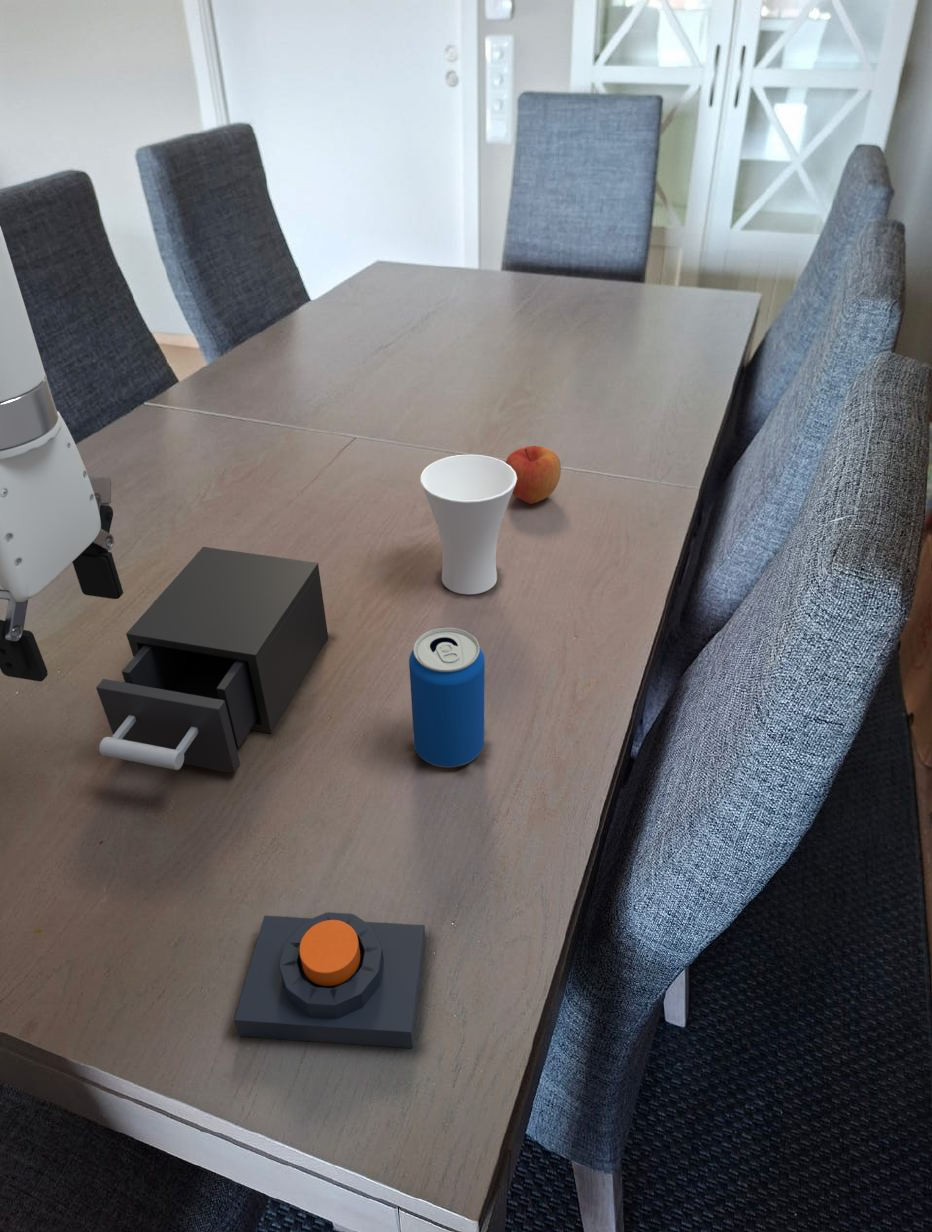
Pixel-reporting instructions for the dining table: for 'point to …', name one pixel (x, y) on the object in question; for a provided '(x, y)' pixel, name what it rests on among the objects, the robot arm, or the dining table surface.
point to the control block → (344, 1013)
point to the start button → (330, 952)
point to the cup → (468, 516)
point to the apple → (534, 472)
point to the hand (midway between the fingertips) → (67, 633)
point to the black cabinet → (244, 620)
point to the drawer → (179, 709)
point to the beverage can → (447, 697)
